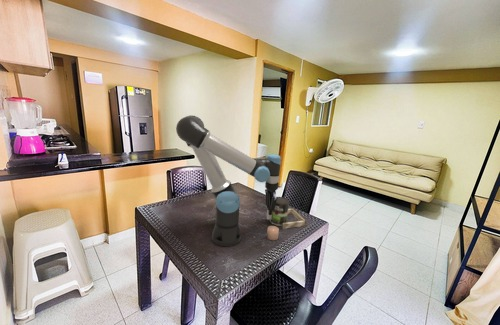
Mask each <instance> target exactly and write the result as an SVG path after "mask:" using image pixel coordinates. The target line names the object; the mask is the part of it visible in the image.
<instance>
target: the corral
mask: <svg viewBox="0 0 500 325" xmlns="http://www.w3.org/2000/svg"><path fill="white" fill-rule="evenodd" d="M290 214H291V215H292V216H293V217H295V219H296V221H286V223H283V225H282V226H281V228H282V230H284V229H285V230H286V229H292V228H297V227H306V226H307V220H306V219H305V218H304V217H303V216H302V215H300V213H298V212H297V210H295V209H294V208H288V214H287V215H290Z"/></svg>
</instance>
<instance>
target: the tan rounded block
mask: <svg viewBox="0 0 500 325" xmlns="http://www.w3.org/2000/svg"><path fill="white" fill-rule="evenodd" d="M266 230H267V231H266V238H267V239H268V240H270V241H277V240H278V239H279V232H280V229H279V227H277V225H269V226H267V229H266Z"/></svg>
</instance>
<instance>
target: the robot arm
mask: <svg viewBox="0 0 500 325" xmlns="http://www.w3.org/2000/svg"><path fill="white" fill-rule="evenodd" d="M175 128H176V135H177V136H178V138H180V140H182V141H183V142H185V144H186V145H187V147H188V148H191V149H192V150H193V152H194V154H195V156H196V158H197V160H198V162H199V164H200V166H201V168H202V169H203V171H204V173H205V176H206V177H207V180H208V181H209V183H210V185H211V190H210V191H211V193H212V195H213V197H214V199H215V224H214V227H213V229H212V233H211V240H212V242H213V243H214V244H216V245H217V246H220V247H232V246H235V245H237V244H239V243H240V242H241V238H242V233H241V228H240V225H239V222H240V221H239V218H240V205H241V200H240V197H239V194H237V191H236V189H235V186H233V184H232V182H231V180H229V179H227V178H226V176H225V174H224V171H223V170H222V168H221V165H220V163H219V161H218V160H217V158H216V157H218V158H219V159H221V160H223V161H225V162H227V163H228V164H230V165H231V166H234V167H235V168H237V169H238V170H241V171H243V172H244V173H246V174H248V175H249V176H251V177H253V178H254V179H255V180H256V181H257V182H259V183H265V185H264V187H265V189H264V192H265V194H264V196H265V206H266V216H265V217H266V220H270V219H271V218H272V210H274V209H275V205H276V201H277V199H278V197H279V196H276V195H277V193H276V192H277V190H278V189H279V185H280V172H281V165H282V162H281V161H282V157H281V156H280V155H279V154H267V157H264V158H257V157H256V158H253V157H251V156H249V155H248V154H245V153H244V152H242V151H240V150H239V149H237V148H235V147H234V146H232V145H231V144H228V143H227V142H225V141H223V140H221V139H220V138H218V137H216V136H215V135H213V134H211V131H210V130H209V129H207V128H206V127H205V124H204V121H203V120H202V119H201V118H200V117H198V116H196V115H186V116H184V117H182V118H181V119H179V121H178V122H177V124H176V127H175Z"/></svg>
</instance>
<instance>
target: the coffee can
mask: <svg viewBox="0 0 500 325" xmlns="http://www.w3.org/2000/svg"><path fill="white" fill-rule="evenodd" d="M277 197H278V199H277V201H276V205H275V209H274V210H272V218H271V219H269V222H270V223H271V224H272V225H273V226H280V227H282V225H283V223H287V222H288V221H287V220H288V215H289V214H288V209H289V204H290V200H289V199H288V198H286V197H283V196H277Z"/></svg>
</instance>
